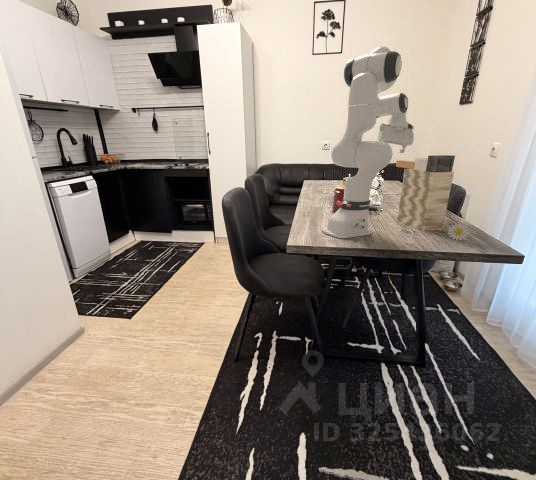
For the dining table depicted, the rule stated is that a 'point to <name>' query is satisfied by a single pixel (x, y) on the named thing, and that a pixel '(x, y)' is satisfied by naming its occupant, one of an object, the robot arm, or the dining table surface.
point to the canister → (338, 196)
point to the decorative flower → (457, 232)
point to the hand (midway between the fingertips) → (394, 151)
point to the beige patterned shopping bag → (426, 194)
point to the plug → (414, 164)
